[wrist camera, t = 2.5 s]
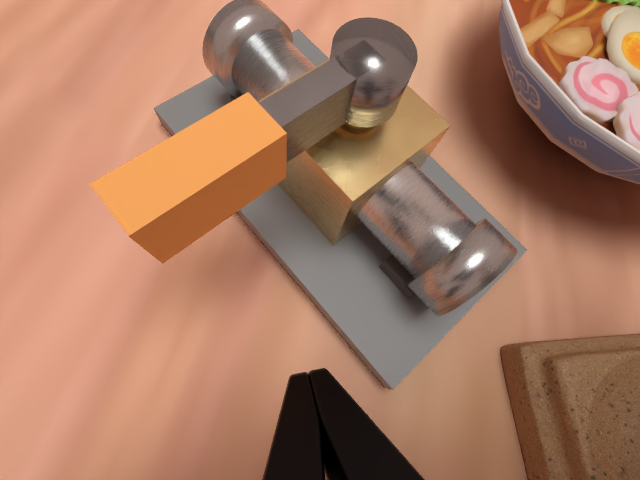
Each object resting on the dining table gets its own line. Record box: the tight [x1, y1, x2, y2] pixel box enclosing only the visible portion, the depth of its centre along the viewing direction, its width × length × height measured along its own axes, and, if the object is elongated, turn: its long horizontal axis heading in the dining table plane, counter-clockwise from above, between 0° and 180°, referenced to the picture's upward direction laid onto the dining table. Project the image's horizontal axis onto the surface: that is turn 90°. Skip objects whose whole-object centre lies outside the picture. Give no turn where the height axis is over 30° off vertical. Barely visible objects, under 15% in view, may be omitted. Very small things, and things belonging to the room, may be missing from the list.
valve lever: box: [90, 18, 417, 263], centre depth 13 cm, size 12×3×3 cm, turn 131°
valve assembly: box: [154, 0, 527, 390], centre depth 19 cm, size 22×12×8 cm, turn 41°
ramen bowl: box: [499, 0, 640, 185], centre depth 24 cm, size 25×23×8 cm
